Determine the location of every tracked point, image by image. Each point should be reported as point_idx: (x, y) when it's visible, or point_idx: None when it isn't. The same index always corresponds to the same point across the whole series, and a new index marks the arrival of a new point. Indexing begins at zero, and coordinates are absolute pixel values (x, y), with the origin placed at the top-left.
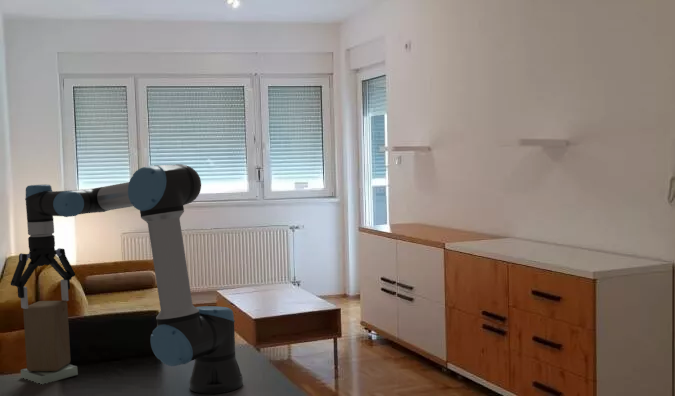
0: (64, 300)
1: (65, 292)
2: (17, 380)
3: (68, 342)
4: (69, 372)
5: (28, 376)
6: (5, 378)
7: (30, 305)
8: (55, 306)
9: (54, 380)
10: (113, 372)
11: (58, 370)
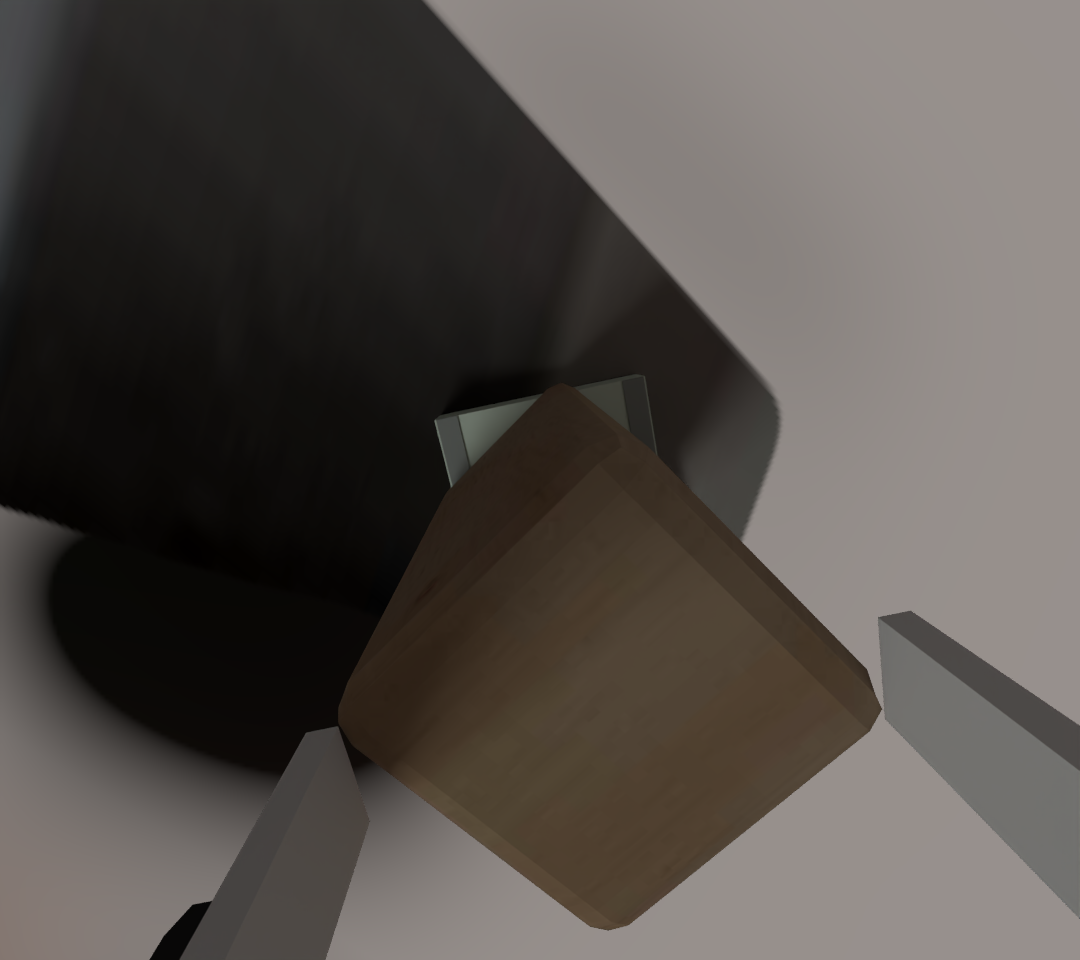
0: (349, 770)
1: (295, 832)
2: None
3: (438, 516)
4: (483, 408)
5: None
6: None
7: (801, 738)
8: (567, 492)
9: None
10: (277, 315)
11: None
